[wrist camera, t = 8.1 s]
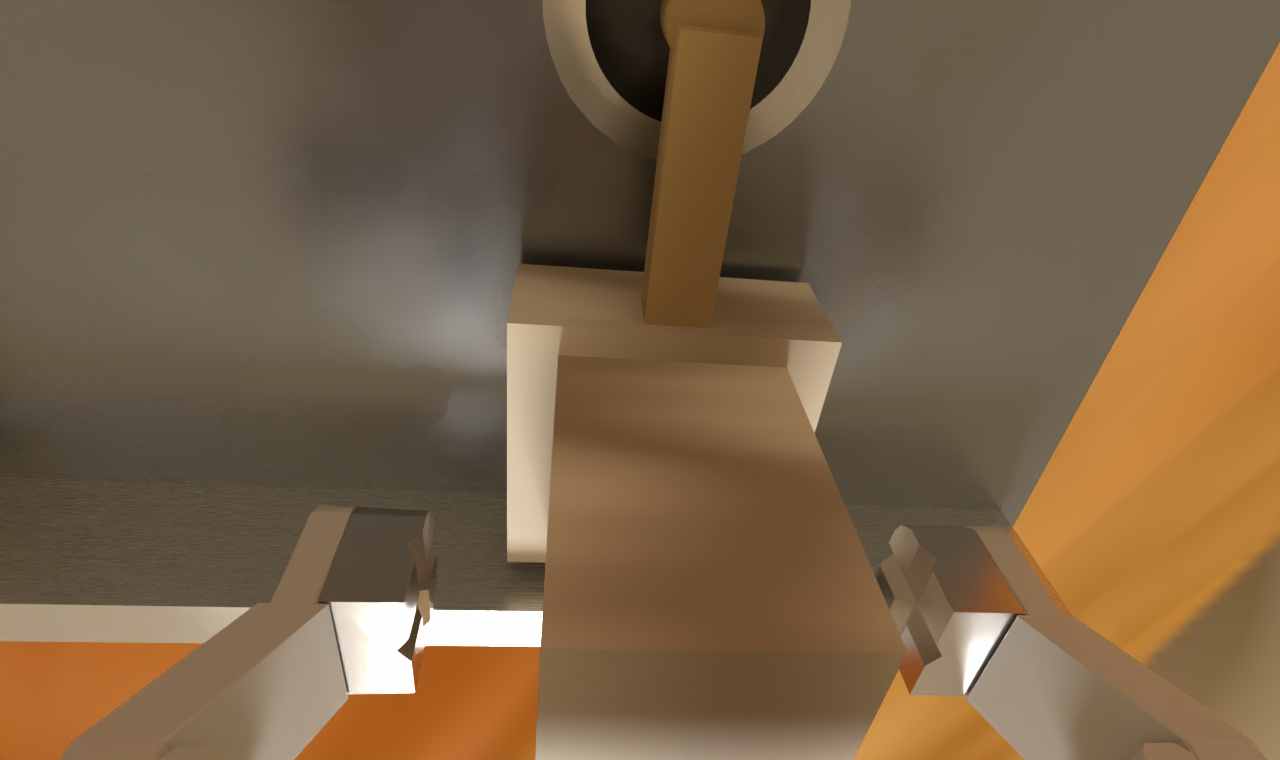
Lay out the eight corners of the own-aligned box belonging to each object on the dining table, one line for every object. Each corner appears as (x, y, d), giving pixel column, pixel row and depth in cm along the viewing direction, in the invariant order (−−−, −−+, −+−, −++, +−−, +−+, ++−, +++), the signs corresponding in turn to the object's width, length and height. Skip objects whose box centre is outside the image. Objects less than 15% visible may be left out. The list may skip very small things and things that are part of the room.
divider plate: (-287, 469, 15) (-539, 635, 11) (-1166, -607, 7) (-2721, -1051, 4) (985, 511, 18) (1076, 651, 15) (1353, -208, 10) (1728, -259, 7)
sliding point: (515, 486, 15) (469, 871, 9) (520, -59, 9) (414, 18, 4) (753, 494, 15) (855, 862, 9) (885, -17, 10) (1305, 111, 4)
